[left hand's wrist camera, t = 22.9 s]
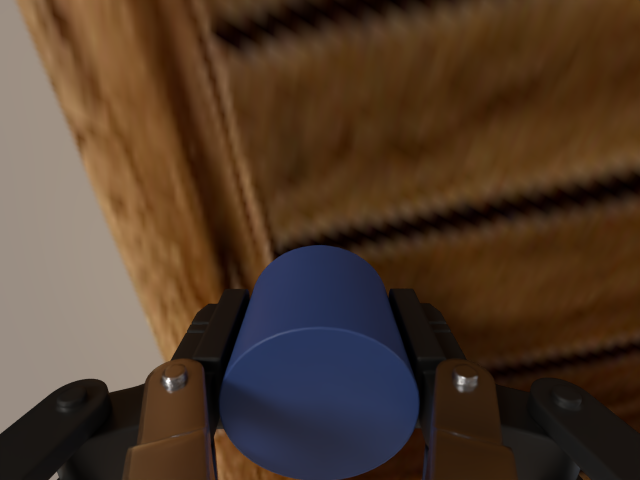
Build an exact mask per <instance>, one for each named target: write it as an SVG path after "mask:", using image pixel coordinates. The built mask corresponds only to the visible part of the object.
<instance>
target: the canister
mask: <svg viewBox="0 0 640 480" xmlns="http://www.w3.org/2000/svg"><path fill="white" fill-rule="evenodd" d="M218 402H219V413H220V418H221V422H222V425H223V427H224V430H225V432H226V434H227V435H228V437H229V439H230V440H231V441H232V443H233V444H234V445H235V447H236V448H237V449H238V450H239V451H240V452H241V453H242V454H243V455H245V456H246V457H247V458H248V459H250V460H251V461H252V462H254V463H256V464H257V465H259V466H261V467H263V468H265V469H267V470H269V471H271V472H274V473H277V474H280V475H282V476H286V477H290V478H295V479H301V480H337V479H344V478H348V477H353V476H356V475H359V474H362V473H365V472H367V471H369V470H372V469H374V468H376V467H378V466H379V465H381V464H383V463H385V462H386V461H387V460H389V459H390V458H391V457H393V456H394V455H395V454H396V453H397V452H398V451H399V450H400V449H401V448H402V447H403V446H404V445H405V443H406V442H407V441H408V439H409V438H410V436H411V434H412V433H413V431H414V428H415V426H416V423H417V420H418V416H419V411H420V396H419V390H418V386H417V383H416V380H415V377H414V374H413V371H412V368H411V365H410V362H409V359H408V356H407V353H406V350H405V347H404V344H403V341H402V338H401V335H400V332H399V329H398V326H397V323H396V320H395V317H394V314H393V311H392V308H391V305H390V302H389V299H388V296H387V293H386V290H385V287H384V284H383V282H382V280H381V278H380V277H379V275H378V274H377V272H376V271H375V270H374V269H373V267H372V266H371V265H370V264H368V263H367V262H366V261H365V260H364V259H362V258H361V257H359V256H358V255H356V254H354V253H352V252H350V251H347V250H344V249H341V248H337V247H332V246H323V245H317V246H307V247H301V248H298V249H295V250H292V251H289V252H287V253H285V254H283V255H281V256H280V257H278V258H276V259H275V260H274V261H273V262H272V263H270V264H269V265H268V266H267V267H266V268H265V269H264V271H263V272H262V273H261V275H260V276H259V278H258V280H257V282H256V284H255V287H254V290H253V293H252V296H251V299H250V301H249V304H248V307H247V310H246V313H245V316H244V319H243V322H242V325H241V328H240V331H239V334H238V337H237V340H236V343H235V346H234V349H233V352H232V354H231V357H230V360H229V363H228V366H227V369H226V372H225V375H224V378H223V381H222V384H221V387H220V392H219V399H218Z"/></svg>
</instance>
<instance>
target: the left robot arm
mask: <svg viewBox="0 0 640 480" xmlns="http://www.w3.org/2000/svg"><path fill="white" fill-rule="evenodd" d="M249 301H250V297H249V291H248V289H225V290H224V292H223V294H222V296H221V298H220V300H219V302H218V304H208V305H206V306H205V307H204V308H203V309H201V310H200V311H199V312H197V314H196V316H195V318H194V320H193V321H192V325H190V327H189V328H188V330H187V333H186V334H185V336H184V337H183V339H182V341H181V343H180V345H179V346H178V348H177V350H176V352H175V353H174V355H173V357H172V359H171V361H169V362H166V363H164V364H162V365H160V366H158V367H157V368H156V369H154V370H153V371H152V372H151V373H150V374H149V375H148V377H147V379H146V381H145V383H144V384H142V385H139V386H136V387H132V388H128V389H123V390H119V391H115V392H110V393H109V391H108V388H107V385H106V384H105V383H104V382H103V381H101V380H98V379H83V380H78V381H75V382H72V383H69V384H67V385H64V386H62V387H60V388H59V389H57V390H55V391H54V392H53V393H51V394H50V395H48V396H47V397H46V398H45V399H43V400H42V401H41V402H40V403H38V404H37V405H36V406H35V407H34V408H32V409H31V410H30V411H29V412H27V413H26V414H25V415H23V416H22V417H21V418H20V419H19V420H17V421H16V422H15V423H13V424H12V425H11V426H10V427H8V428H7V429H6V430H5V431H3V432H2V433H1V434H0V480H49V479H50V478H51V477H52V476H53V475H54V474H55V473H56V472H57V473H58V476H59V478H58V479H57V480H218V471H217V460H216V449H215V442H214V435H215V432H216V429H224V427H223V425H222V422H221V418H220V413H219V402H218V399H219V392H220V387H221V384H222V381H223V378H224V375H225V372H226V369H227V366H228V363H229V360H230V357H231V354H232V352H233V349H234V346H235V343H236V340H237V337H238V334H239V331H240V328H241V325H242V322H243V319H244V316H245V313H246V310H247V307H248V304H249ZM389 302H390V305H391V308H392V311H393V314H394V317H395V320H396V323H397V326H398V329H399V332H400V335H401V338H402V341H403V344H404V347H405V350H406V353H407V356H408V359H409V362H410V365H411V368H412V371H413V374H414V377H415V380H416V383H417V386H418V390H419V396H420V411H419V416H418V420H417V423H416V426H415V428H421V430H422V433H423V436H424V439H425V449H424V460H423V471H422V480H583V479H582V478H581V477H580V476H579V475H578V474H579V471H580V469H581V470H582V471H583V472H584V473H585V474H586V475H587V476H588V477H589V478H590V479H591V480H640V434H639V433H638V432H637V431H635V430H634V429H633V428H632V427H630V426H629V425H628V424H627V423H625V422H624V421H623V420H622V419H620V418H619V417H618V416H617V415H615V414H614V413H613V412H612V411H610V410H609V409H608V408H607V407H605V406H604V405H603V404H602V403H600V402H599V401H598V400H596V399H595V398H594V397H593V396H591V395H590V394H589V393H588V392H586V391H585V390H583V389H582V388H580V387H578V386H576V385H574V384H572V383H570V382H567V381H564V380H561V379H556V378H541V379H538V380H536V381H534V382H533V384H532V386H531V389H530V392H525V391H521V390H517V389H512V388H508V387H504V386H500V385H497V384H495V381H494V379H493V377H492V375H491V374H490V373H489V372H488V371H487V370H486V369H484V368H483V367H482V366H480V365H478V364H476V363H474V362H471V361H468V360H467V359H466V358H465V356H464V354H463V352H462V350H461V348H460V347H459V345H458V343H457V341H456V339H455V338H454V336H453V334H452V333H451V330H450V328H449V327H448V325H447V324H446V321H445V319H444V318H443V316H442V314H441V312H440V311H438V310H437V309H436V308H435V307H433V306H432V305H431V304H429V303H420V302H419V300H418V298H417V296H416V294H415V292H414V290H413V289H390V291H389Z"/></svg>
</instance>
